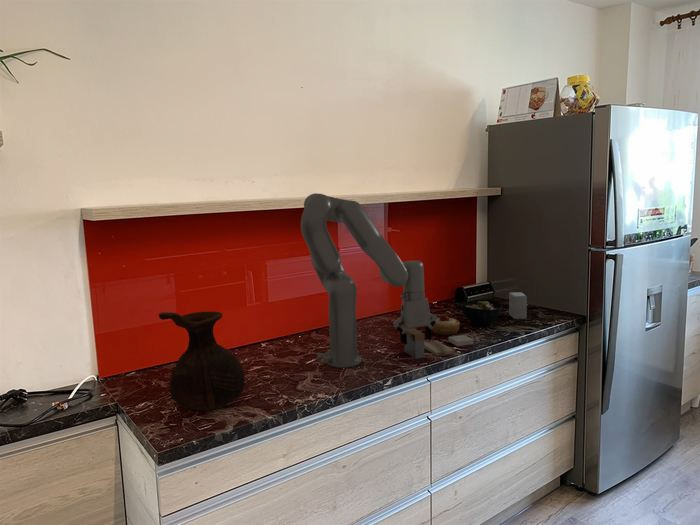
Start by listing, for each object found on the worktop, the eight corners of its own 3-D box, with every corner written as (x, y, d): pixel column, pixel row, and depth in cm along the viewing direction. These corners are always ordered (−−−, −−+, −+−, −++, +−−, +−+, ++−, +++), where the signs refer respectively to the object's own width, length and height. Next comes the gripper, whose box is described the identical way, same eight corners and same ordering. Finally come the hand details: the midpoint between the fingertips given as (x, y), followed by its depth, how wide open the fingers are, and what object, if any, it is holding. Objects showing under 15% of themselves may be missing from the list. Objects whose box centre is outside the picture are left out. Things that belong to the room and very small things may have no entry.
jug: (173, 393, 163) (165, 299, 159) (244, 385, 168) (238, 293, 164) (165, 424, 142) (155, 316, 138) (247, 414, 147) (240, 309, 143)
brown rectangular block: (415, 359, 187) (414, 335, 186) (404, 351, 196) (403, 329, 195) (424, 357, 189) (424, 334, 187) (413, 350, 197) (413, 327, 196)
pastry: (424, 333, 220) (423, 312, 219) (444, 327, 227) (443, 307, 226) (446, 338, 210) (445, 317, 209) (466, 332, 217) (465, 311, 216)
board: (436, 355, 190) (436, 352, 190) (420, 345, 202) (420, 342, 202) (454, 353, 192) (454, 350, 192) (436, 343, 204) (436, 340, 204)
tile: (457, 341, 200) (473, 339, 202) (448, 336, 206) (464, 334, 208) (457, 347, 200) (473, 344, 202) (448, 342, 206) (464, 339, 209)
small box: (526, 318, 235) (527, 295, 233) (513, 319, 235) (514, 296, 233) (521, 314, 242) (521, 291, 241) (508, 314, 243) (509, 292, 241)
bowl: (453, 324, 230) (453, 302, 228) (476, 316, 241) (476, 295, 239) (487, 331, 217) (487, 308, 215) (509, 323, 228) (509, 300, 227)
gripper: (396, 300, 183) (399, 348, 185) (440, 294, 188) (442, 340, 191) (387, 296, 190) (390, 342, 192) (430, 290, 195) (432, 334, 198)
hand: (416, 341), depth 192 cm, fingers open, 9 cm apart
